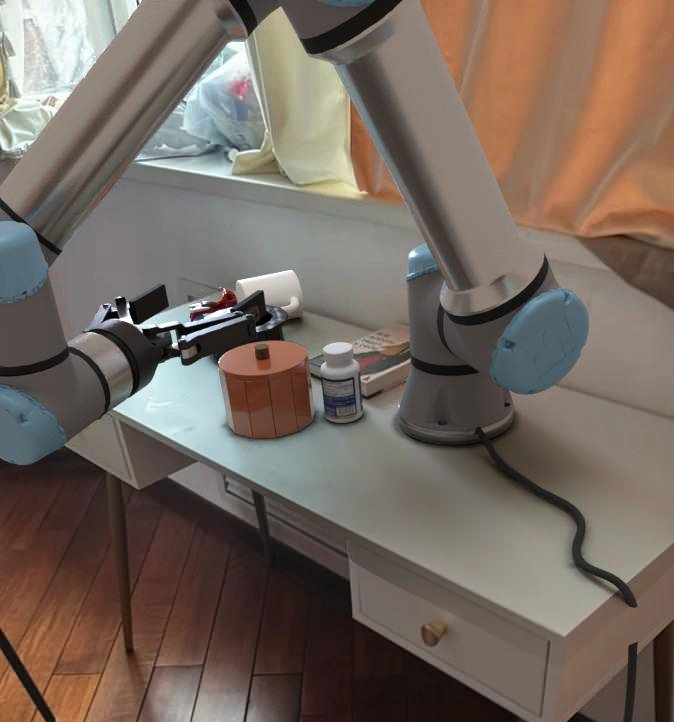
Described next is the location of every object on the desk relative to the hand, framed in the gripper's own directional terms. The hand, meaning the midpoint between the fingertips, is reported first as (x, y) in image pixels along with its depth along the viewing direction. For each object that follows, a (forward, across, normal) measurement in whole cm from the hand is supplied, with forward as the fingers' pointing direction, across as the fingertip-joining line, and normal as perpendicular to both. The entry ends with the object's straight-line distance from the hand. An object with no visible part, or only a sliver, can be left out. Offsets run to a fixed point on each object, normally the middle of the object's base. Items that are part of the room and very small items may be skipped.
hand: (212, 298), depth 101 cm
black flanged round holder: (+31, -16, -20) cm, 40 cm away
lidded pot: (+10, 0, -20) cm, 22 cm away
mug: (+44, -17, -20) cm, 51 cm away
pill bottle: (+13, +10, -20) cm, 26 cm away
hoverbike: (+43, -27, -20) cm, 55 cm away
